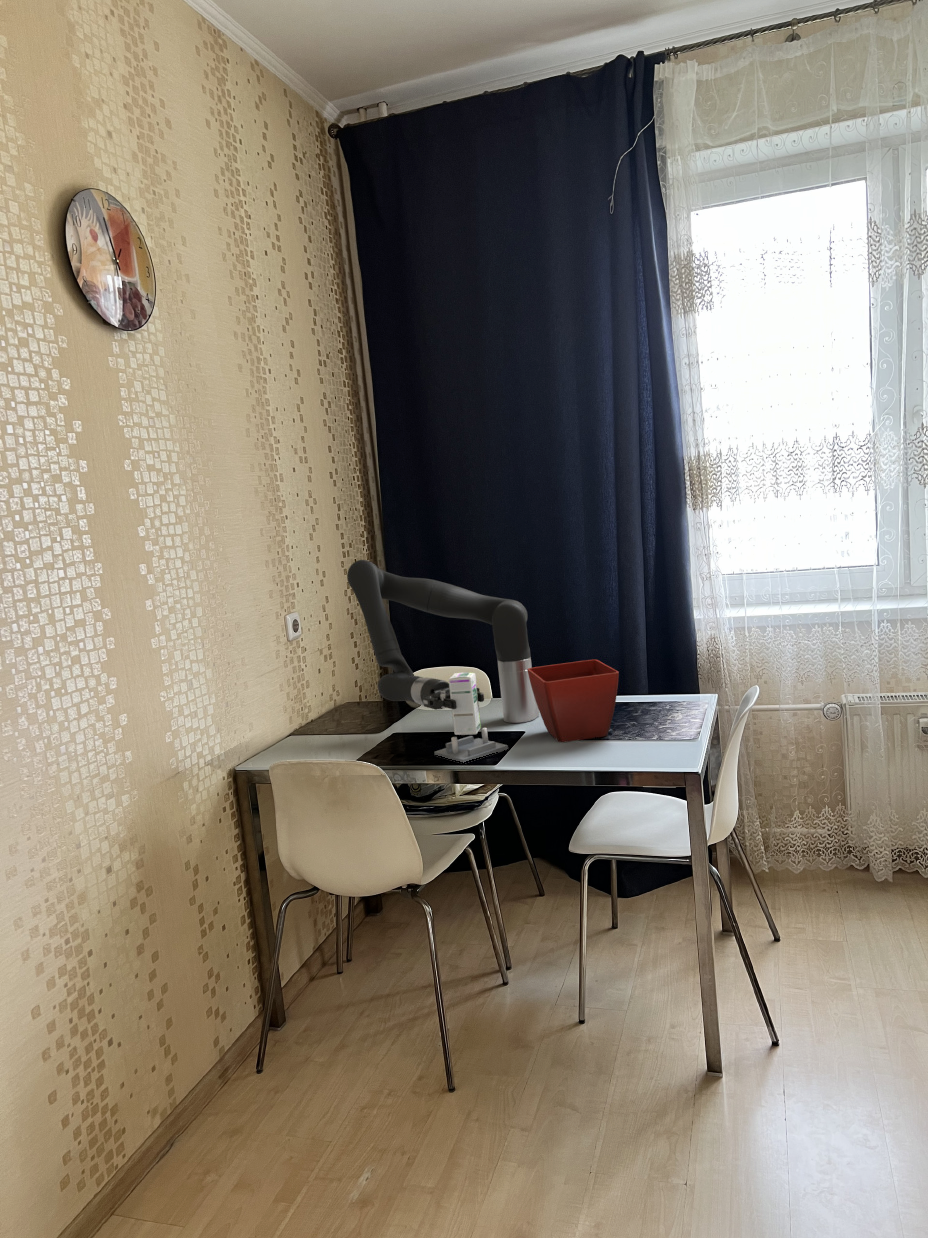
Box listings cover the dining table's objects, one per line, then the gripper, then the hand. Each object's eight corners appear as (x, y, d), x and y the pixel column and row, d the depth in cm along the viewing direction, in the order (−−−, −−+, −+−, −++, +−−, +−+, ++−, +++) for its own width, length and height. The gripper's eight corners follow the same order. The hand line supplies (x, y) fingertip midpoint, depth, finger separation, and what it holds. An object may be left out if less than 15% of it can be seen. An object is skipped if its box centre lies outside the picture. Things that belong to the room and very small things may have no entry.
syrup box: (477, 734, 222) (471, 676, 220) (453, 735, 223) (448, 677, 221) (481, 728, 227) (476, 671, 225) (458, 728, 229) (453, 672, 227)
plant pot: (625, 737, 224) (620, 671, 222) (551, 749, 222) (544, 681, 219) (601, 720, 243) (596, 658, 241) (532, 730, 240) (526, 668, 238)
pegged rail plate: (478, 741, 235) (476, 723, 234) (508, 749, 225) (506, 729, 224) (434, 755, 227) (432, 736, 226) (463, 764, 217) (461, 743, 216)
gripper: (407, 684, 231) (444, 692, 218) (452, 673, 239) (490, 680, 226) (410, 712, 232) (447, 722, 219) (454, 701, 240) (493, 709, 227)
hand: (469, 701), depth 223 cm, fingers closed on syrup box, 8 cm apart
